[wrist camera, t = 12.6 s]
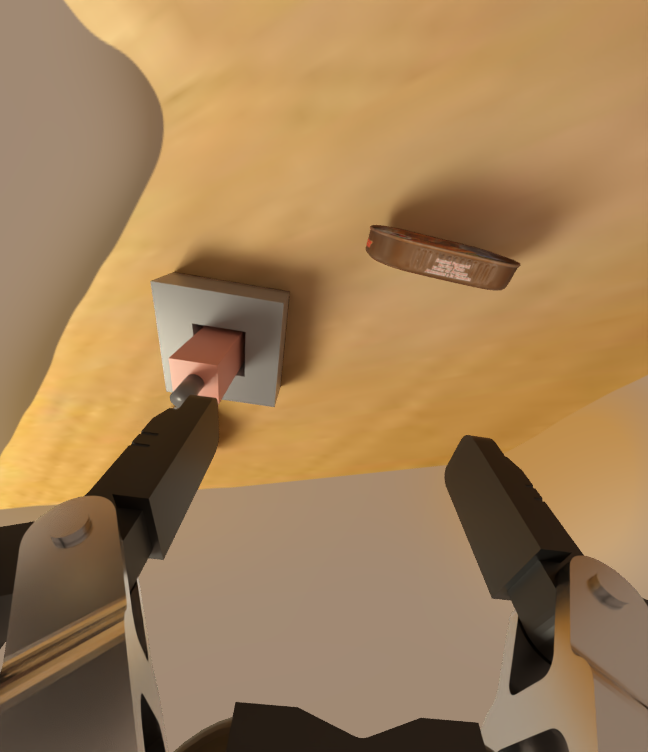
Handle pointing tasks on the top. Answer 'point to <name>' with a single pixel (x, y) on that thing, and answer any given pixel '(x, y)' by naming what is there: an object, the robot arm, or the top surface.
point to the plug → (206, 364)
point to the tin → (439, 258)
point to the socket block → (229, 311)
